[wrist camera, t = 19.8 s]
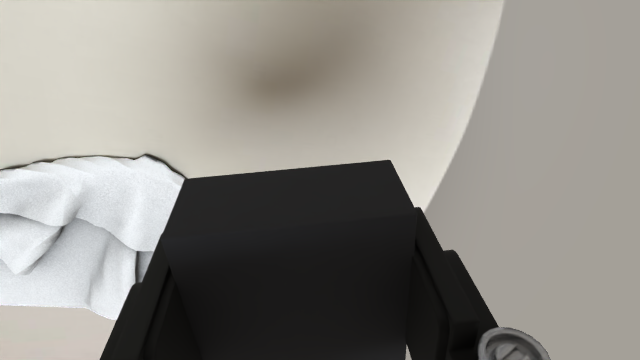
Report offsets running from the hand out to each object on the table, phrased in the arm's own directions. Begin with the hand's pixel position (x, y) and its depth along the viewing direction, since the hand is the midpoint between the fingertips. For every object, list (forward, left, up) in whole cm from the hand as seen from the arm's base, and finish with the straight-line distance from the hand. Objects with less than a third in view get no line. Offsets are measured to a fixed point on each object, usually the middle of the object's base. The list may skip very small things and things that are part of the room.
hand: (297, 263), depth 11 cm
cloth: (+13, -18, -18) cm, 29 cm away
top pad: (0, 0, -1) cm, 1 cm away
